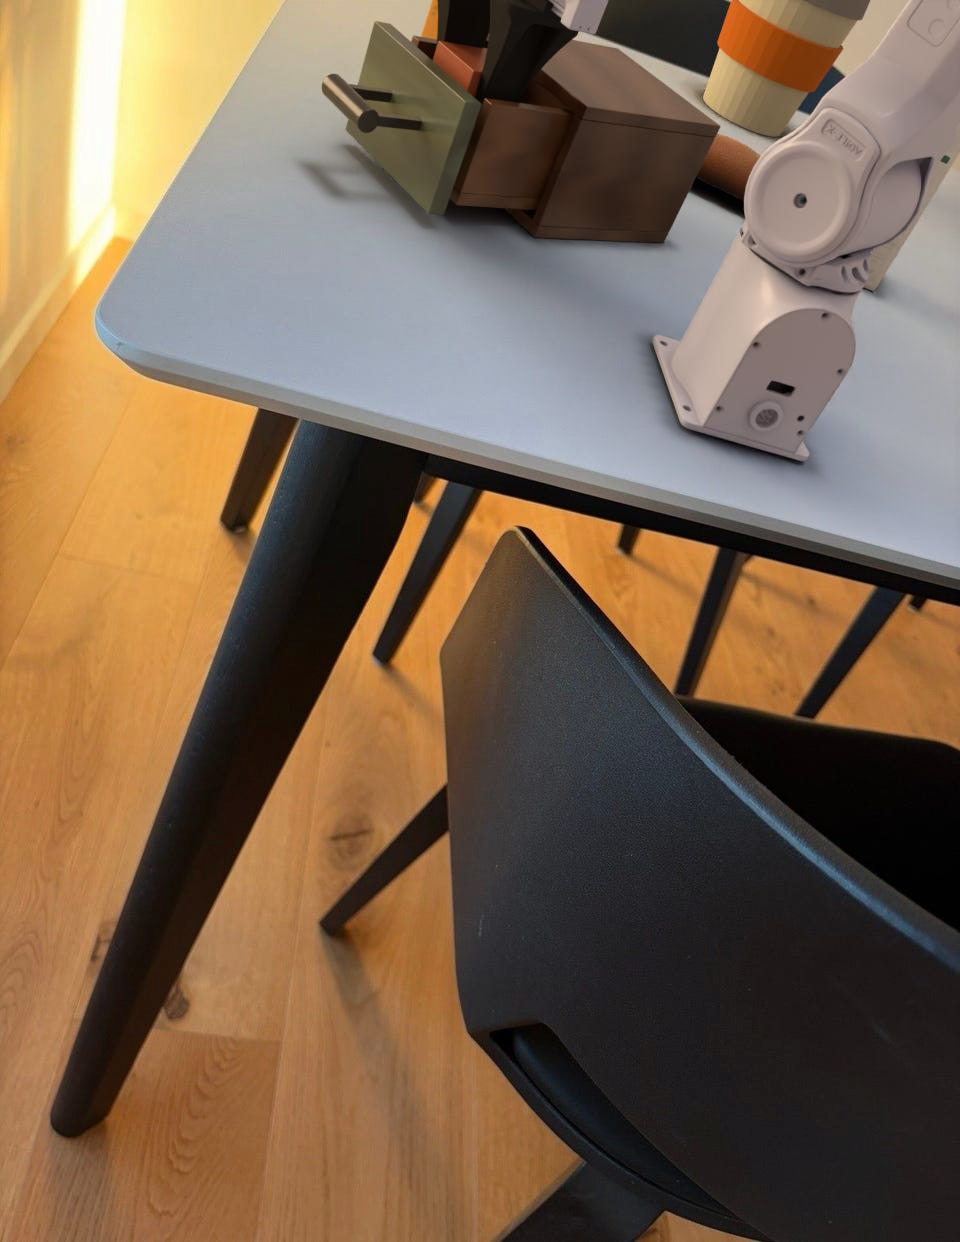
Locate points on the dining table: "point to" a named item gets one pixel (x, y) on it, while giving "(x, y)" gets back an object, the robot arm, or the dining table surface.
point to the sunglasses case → (728, 165)
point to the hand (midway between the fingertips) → (467, 101)
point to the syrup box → (888, 252)
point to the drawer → (448, 128)
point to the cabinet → (617, 150)
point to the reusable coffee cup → (776, 57)
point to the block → (461, 64)
